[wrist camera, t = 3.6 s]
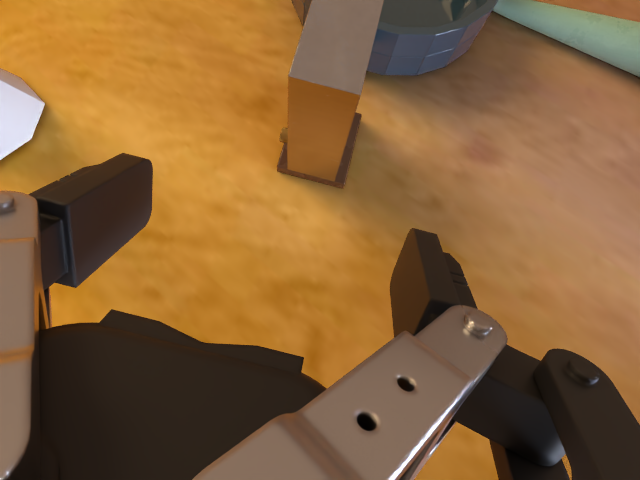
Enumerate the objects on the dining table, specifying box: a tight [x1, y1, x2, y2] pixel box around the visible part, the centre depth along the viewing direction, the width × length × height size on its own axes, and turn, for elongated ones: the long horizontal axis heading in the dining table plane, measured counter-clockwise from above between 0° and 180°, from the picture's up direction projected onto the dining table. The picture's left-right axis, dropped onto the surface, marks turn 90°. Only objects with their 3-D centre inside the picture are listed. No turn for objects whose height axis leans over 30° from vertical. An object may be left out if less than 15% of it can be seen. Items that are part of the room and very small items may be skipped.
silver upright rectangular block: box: [277, 0, 384, 188], centre depth 24 cm, size 6×5×11 cm
